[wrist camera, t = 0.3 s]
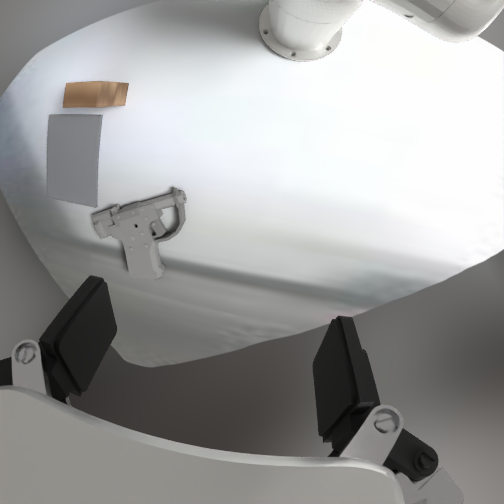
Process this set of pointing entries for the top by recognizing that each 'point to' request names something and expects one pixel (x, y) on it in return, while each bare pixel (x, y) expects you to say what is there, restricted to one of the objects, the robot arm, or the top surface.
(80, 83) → the wooden block
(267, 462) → the robot arm
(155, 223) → the pistol
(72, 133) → the rubber mat
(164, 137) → the top surface
